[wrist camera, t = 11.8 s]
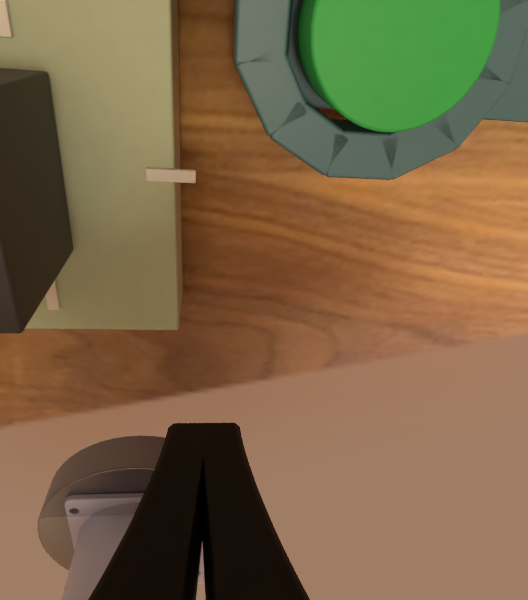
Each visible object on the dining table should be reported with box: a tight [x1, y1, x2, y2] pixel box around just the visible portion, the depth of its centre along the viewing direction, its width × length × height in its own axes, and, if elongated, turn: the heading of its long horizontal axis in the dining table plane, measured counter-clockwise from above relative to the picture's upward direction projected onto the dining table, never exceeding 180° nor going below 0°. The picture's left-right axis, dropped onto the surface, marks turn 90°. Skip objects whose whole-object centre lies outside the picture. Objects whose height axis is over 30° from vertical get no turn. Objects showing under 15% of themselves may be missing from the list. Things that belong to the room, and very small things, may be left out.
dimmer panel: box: [0, 0, 196, 330], centre depth 14 cm, size 11×9×3 cm
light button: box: [298, 0, 500, 132], centre depth 10 cm, size 4×4×2 cm
